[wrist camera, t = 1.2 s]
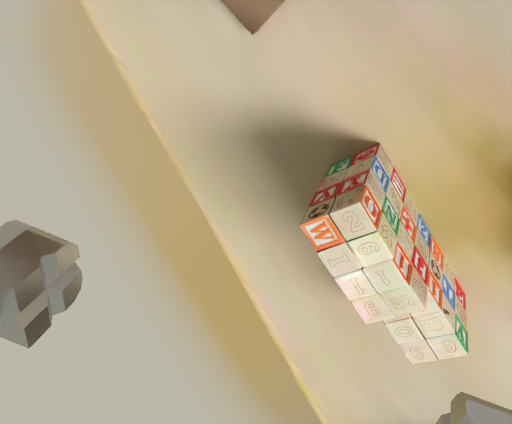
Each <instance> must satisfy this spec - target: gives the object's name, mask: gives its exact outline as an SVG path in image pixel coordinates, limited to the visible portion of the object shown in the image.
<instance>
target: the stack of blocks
mask: <svg viewBox="0 0 512 424" xmlns="http://www.w3.org/2000/svg"><path fill="white" fill-rule="evenodd" d="M299 226H300V228H301V229H302V231H303V232H304V234H305V235H306V237H307V238H308V239H309V241H310V243H311V244H312V245H313V247H314V248H315V250H316V251H317V255H318V256H319V258H320V259H321V261H322V262H323V263H324V265H325V266H326V268H327V269H328V271H329V272H330V273H331V275H332V276H333V277H334V279H335V281H336V282H337V284H338V285H339V287H340V288H341V290H342V291H343V292H344V294H345V295H346V297H347V298H348V299H349V300H350V301H351V303H352V305H353V306H354V307H355V309H356V310H357V312H358V313H359V314H360V316H361V317H362V319H363V320H364V321H365V323H366V324H368V323H372V322H377V321H381V320H382V321H383V322H384V325H385V326H386V328H387V329H388V331H389V332H390V334H391V335H392V337H393V338H394V340H395V341H396V343H397V344H399V346H400V348H401V349H402V351H403V352H404V354H405V355H406V357H407V358H408V360H409V361H410V363H411V364H415V363H421V362H428V361H435V360H438V359H444V358H451V357H457V356H463V355H468V333H467V331H466V329H467V326H466V301H465V294H464V292H463V290H462V289H461V287H460V285H459V284H458V282H457V280H456V278H455V277H454V273H453V272H452V270H451V268H450V266H449V264H448V263H447V261H446V259H445V257H444V256H443V254H442V252H441V250H440V248H439V247H438V245H437V243H436V241H435V239H434V238H433V236H432V235H431V234H430V232H429V230H428V228H427V227H426V225H425V223H424V221H423V219H422V218H421V216H420V214H419V213H418V211H417V209H416V207H415V206H414V204H413V202H412V200H411V199H410V197H409V195H408V193H407V192H406V188H405V187H404V185H403V183H402V181H401V179H400V178H399V176H398V174H397V172H396V170H395V169H394V167H393V165H392V163H391V161H390V159H389V157H388V156H387V154H386V152H385V150H384V148H383V147H382V145H381V144H380V143H379V144H377V145H375V146H372V147H370V148H368V149H366V150H364V151H361V152H359V153H357V154H355V155H354V156H352V157H349V158H347V159H345V160H343V161H340V162H338V163H336V164H334V165H331V166H330V167H329V169H328V171H327V173H326V175H325V177H324V180H323V181H322V183H321V185H320V187H319V189H318V191H317V193H316V194H315V195H314V197H313V199H312V201H311V203H310V205H309V207H308V210H307V212H306V214H305V216H304V218H303V219H302V221H301V223H300V225H299Z"/></svg>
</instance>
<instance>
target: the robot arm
mask: <svg viewBox="0 0 512 424" xmlns="http://www.w3.org/2000/svg"><path fill="white" fill-rule="evenodd" d="M79 257H80V255H79V250H78V246H77V245H76V244H74V243H71V242H69V241H67V240H64V239H62V238H59V237H57V236H55V235H52V234H50V233H47V232H45V231H43V230H40V229H38V228H35V227H33V226H30V225H28V224H25V223H23V222H20V221H18V220H13V221H9V222H7V223H5V224H4V225H2V226H1V227H0V337H2V338H5V339H7V340H9V341H12V342H14V343H17V344H20V345H22V346H24V347H27V348H30V347H31V346H32V345H33V344H34V343H35V342H36V341H37V340H38V338H40V337H41V336H42V334H44V333H45V332H46V330H47V329H48V328H49V327H50V326H51V323H52V316H53V315H55V314H58V313H61V312H64V311H66V310H67V309H68V307H69V306H70V305H71V304H72V303H73V302H74V301H75V299H76V297H77V295H78V293H79V291H80V289H81V284H82V272H81V270H80V269H79V267H78V266H77V264H76V263H75V261H76V260H77V259H78V258H79ZM436 424H512V410H509V409H506V408H504V407H501V406H498V405H495V404H493V403H490V402H487V401H485V400H482V399H479V398H477V397H474V396H471V395H469V394H466V393H463V392H461V393H459V394H457V395H456V396H455V397H454V399H453V400H452V401H451V413H448V414H443V415H441V416H440V418H439V420H438V421H437V423H436Z"/></svg>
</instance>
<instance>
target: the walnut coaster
mask: <svg viewBox="0 0 512 424" xmlns="http://www.w3.org/2000/svg"><path fill="white" fill-rule="evenodd" d="M222 1H223V2H224V3H225V5H226V6H227V7H228V8H229V9H230V10H231V11H232V12H233V14H234V15H235V16H236V17H237V18H238V19H239V20H240V21H241V22H242V24H243V25H244V26H245V27H246V28H247V29H248V30H249V31H250V32H251V34H252V35H253V34H254V33H256V32H257V31H258V30H259V29H260V27H261V26H262V25H263V24H264V23H265V22H266V21H267V20H268V18H269V17H270V16H271V15H272V14H273V13H274V12H275V11H276V9H277V8H278V7H279V6H280V5H281V4H282V3H283V2H284V0H222Z"/></svg>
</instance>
